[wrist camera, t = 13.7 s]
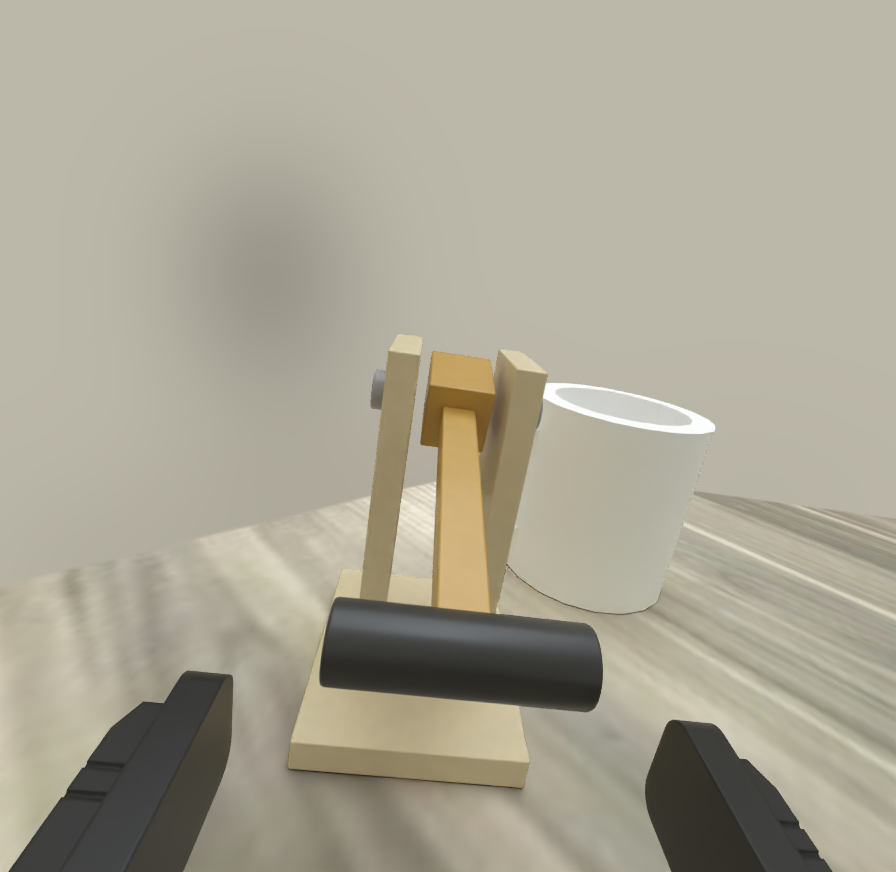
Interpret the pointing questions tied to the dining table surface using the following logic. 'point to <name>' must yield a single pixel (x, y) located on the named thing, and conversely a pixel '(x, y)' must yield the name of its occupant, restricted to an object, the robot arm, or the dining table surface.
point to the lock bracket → (427, 602)
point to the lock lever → (460, 590)
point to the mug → (606, 496)
